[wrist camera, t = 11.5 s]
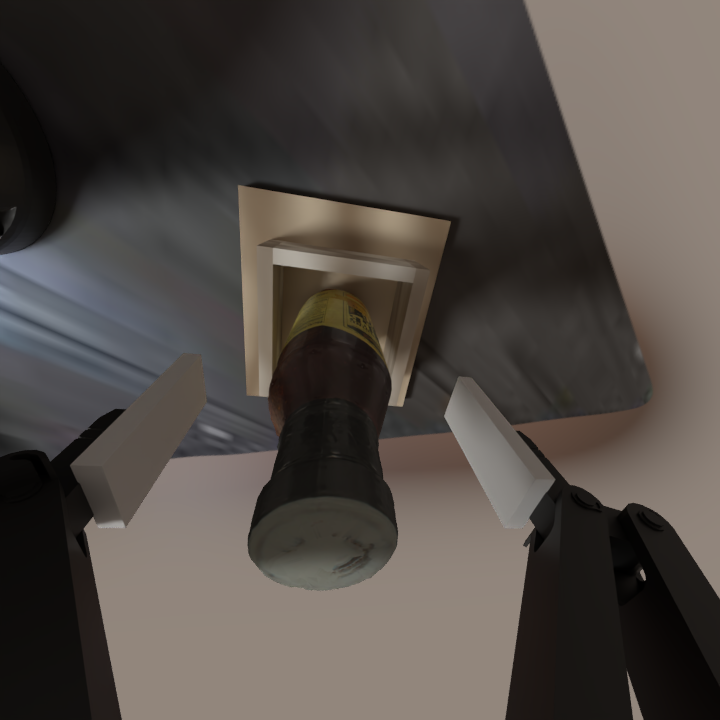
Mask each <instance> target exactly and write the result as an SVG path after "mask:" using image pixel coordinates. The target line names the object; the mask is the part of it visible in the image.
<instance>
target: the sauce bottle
mask: <svg viewBox="0 0 720 720" xmlns="http://www.w3.org/2000/svg"><path fill="white" fill-rule="evenodd" d="M391 392H392V381H391V377H390V373H389V370H388V367H387V364H386V361H385V358H384V355H383V352H382V349H381V346H380V343H379V340H378V338H377V335H376V332H375V329H374V326H373V323H372V320H371V317H370V314H369V312H368V310H367V308H366V306H365V305H364V304H363V302H362V301H361V300H359V299H358V298H357V297H356V296H355V295H354V294H352V293H348V292H346V291H343V290H337V289H325V290H322V291H321V292H319V293H316V294H315V295H313V296H311V297H310V298H309V299H308V300H307V301H306V302H305V303H304V305H303V306H302V308H301V310H300V312H299V314H298V316H297V318H296V320H295V323H294V325H293V327H292V329H291V332H290V334H289V336H288V338H287V341H286V343H285V345H284V347H283V349H282V351H281V354H280V356H279V359H278V362H277V367H276V369H275V371H274V373H273V376H272V379H271V383H270V387H269V396H268V401H269V411H270V415H271V420H272V422H273V424H274V427H275V430H276V434H277V436H279V443H278V447H277V448H278V454H277V457H276V460H275V464H274V468H273V472H272V476H271V480H270V481H269V482H268V483H267V484H266V485H265V486H264V487H263V489H262V491H261V493H260V495H259V496H258V499H257V503H256V507H255V510H254V514H253V518H252V522H251V527H250V532H249V535H248V552H249V556H250V558H251V560H252V561H253V562H254V563H255V564H256V566H257V567H258V568H259V569H260V570H261V571H262V572H263V574H264V575H265V576H266V577H268V578H270V579H272V580H273V581H275V582H277V583H280V584H283V585H286V586H289V587H299V588H304V589H307V590H331V589H338V588H343V587H348V586H351V585H354V584H357V583H360V582H362V581H364V580H365V579H368V578H371V577H372V576H373V575H374V574H376V573H377V572H378V571H379V570H381V569H382V568H383V567H384V565H385V564H386V563H387V562H388V561H389V559H390V558H391V556H392V554H393V552H394V551H395V549H396V546H397V539H398V530H397V529H398V528H397V523H396V518H395V510H394V501H393V497H392V493H391V491H390V488H389V486H388V485H387V484H386V482H385V481H384V480H383V473H382V467H381V462H380V457H379V452H378V446H379V443H378V438H379V435H380V432H381V428H382V425H383V421H384V418H385V414H386V411H387V407H388V404H389V400H390V397H391Z"/></svg>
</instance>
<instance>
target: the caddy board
mask: <svg viewBox="0 0 720 720" xmlns="http://www.w3.org/2000/svg"><path fill="white" fill-rule="evenodd" d="M238 193H239V217H240V241H241V265H242V289H243V313H244V337H245V361H246V385H247V395H251V396H264V397H268V396H269V387H270V383H271V379H272V376H273V373H274V371H275V369H276V367H277V362H278V359H279V356H280V354H281V351H282V349H283V347H284V345H285V343H286V341H287V338H288V336H289V334H290V332H291V329H292V327H293V325H294V323H295V320H296V318H297V316H298V314H299V312H300V310H301V308H302V306H303V305H304V303H305V302H306V301H307V300H308V299H309V298H310V297H311V296H313V295H315V294H316V293H319V292H321V291H322V290H325V289H337V290H343V291H346V292H348V293H352V294H354V295H355V296H356V297H357V298H358V299H359V300H361V301H362V302H363V304H364V305H365V306H366V308H367V310H368V312H369V314H370V317H371V320H372V323H373V326H374V329H375V332H376V335H377V338H378V340H379V343H380V346H381V349H382V352H383V355H384V358H385V361H386V364H387V367H388V370H389V373H390V377H391V381H392V392H391V397H390V400H389V404H388V405H389V406H403V403H404V399H405V395H406V391H407V387H408V384H409V380H410V376H411V372H412V368H413V365H414V361H415V357H416V353H417V349H418V346H419V342H420V338H421V334H422V330H423V327H424V323H425V319H426V315H427V311H428V308H429V304H430V300H431V296H432V292H433V288H434V285H435V281H436V277H437V273H438V269H439V266H440V262H441V258H442V254H443V250H444V247H445V243H446V239H447V235H448V231H449V228H450V224H451V221H447V220H441V219H435V218H429V217H423V216H417V215H411V214H405V213H399V212H394V211H388V210H382V209H376V208H370V207H364V206H358V205H352V204H346V203H340V202H334V201H329V200H323V199H317V198H311V197H305V196H299V195H293V194H287V193H281V192H275V191H269V190H264V189H258V188H252V187H246V186H240V185H238Z"/></svg>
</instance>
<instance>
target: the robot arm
mask: <svg viewBox="0 0 720 720" xmlns="http://www.w3.org/2000/svg"><path fill="white" fill-rule="evenodd" d="M55 200H56V178H55V171H54V165H53V161H52V157H51V153H50V150H49V147H48V144H47V141H46V139H45V136H44V133H43V131H42V129H41V127H40V124H39V122H38V120H37V118H36V116H35V114H34V112H33V111H32V109H31V107H30V105H29V104H28V102H27V100H26V98H25V97H24V95H23V94H22V92H21V91H20V89H19V88H18V86H17V85H16V83H15V82H14V80H13V79H12V78H11V76H10V75H9V74H8V72H7V71H6V70H5V68H4V67H3V66H2V64H1V63H0V255H3V254H8V253H12V252H15V251H18V250H20V249H23V248H25V247H27V246H28V245H30V244H31V243H33V242H34V241H35V240H36V239H37V238H39V237H40V235H41V234H42V233H43V232H44V231H45V229H46V227H47V226H48V224H49V222H50V220H51V217H52V214H53V211H54V207H55ZM206 402H207V399H206V391H205V383H204V375H203V367H202V359H201V355H199V354H187V353H183V354H182V355H181V356H180V357H179V358H178V359H177V360H176V361H175V362H174V363H173V364H172V365H171V366H170V367H169V368H168V369H167V370H166V371H165V372H164V373H163V374H162V375H161V376H160V377H159V378H158V379H157V380H156V381H155V382H154V383H153V384H152V385H151V386H150V387H149V388H148V389H147V390H146V391H145V392H144V393H143V394H142V395H141V396H140V397H139V398H138V399H137V400H136V401H135V402H134V403H133V404H132V405H131V406H130V407H129V408H128V409H114V410H113V411H111V412H109V413H107V414H105V415H103V416H101V417H100V418H98V419H97V420H96V421H95V422H94V423H93V424H92V425H91V426H90V427H88V430H85V431H84V432H83V433H82V434H81V435H80V436H79V437H78V439H75V440H74V441H73V442H72V443H71V444H70V445H69V446H67V447H66V448H65V449H64V450H63V451H62V452H61V453H60V454H59V455H58V456H56V457H55V458H54V459H53V460H52V461H51V462H50V461H49V459H48V457H47V455H46V454H45V452H42V451H38V450H24V451H19V452H15V453H10V454H8V455H5V456H2V457H0V720H122V718H121V714H120V708H119V703H118V698H117V692H116V687H115V682H114V677H113V672H112V666H111V661H110V656H109V651H108V646H107V640H106V635H105V630H104V625H103V619H102V614H101V609H100V604H99V599H98V593H97V588H96V584H95V578H94V573H93V567H92V562H91V557H90V552H89V547H88V541H87V536H86V533H85V531H84V527H85V526H86V525H87V523H88V522H89V521H90V520H91V518H92V517H94V519H95V522H96V524H97V526H98V528H126V526H127V525H128V523H129V522H130V520H131V519H132V517H133V516H134V514H135V512H136V511H137V509H138V508H139V506H140V505H141V503H142V502H143V500H144V498H145V497H146V495H147V494H148V492H149V491H150V489H151V488H152V486H153V484H154V483H155V481H156V480H157V478H158V477H159V475H160V474H161V472H162V470H163V469H164V467H165V466H166V464H167V463H168V461H169V460H170V458H171V457H172V455H173V453H174V452H175V450H176V449H177V447H178V446H179V444H180V443H181V441H182V439H183V438H184V436H185V435H186V433H187V432H188V430H189V429H190V427H191V425H192V424H193V422H194V421H195V419H196V418H197V416H198V415H199V413H200V411H201V410H202V408H203V407H204V405H205V404H206ZM444 417H445V419H446V421H447V422H448V424H449V426H450V428H451V430H452V432H453V433H454V435H455V437H456V439H457V441H458V443H459V445H460V447H461V448H462V450H463V452H464V454H465V456H466V458H467V459H468V461H469V463H470V465H471V467H472V469H473V471H474V472H475V474H476V476H477V478H478V480H479V482H480V483H481V485H482V487H483V489H484V491H485V493H486V494H487V496H488V498H489V500H490V502H491V504H492V506H493V508H494V510H495V511H496V513H497V515H498V517H499V519H500V521H501V522H502V524H503V526H504V528H523V527H524V526H525V524H526V523H527V521H528V520H529V518H530V520H531V521H532V523H533V524H534V526H535V528H534V530H533V531H532V533H531V534H530V535H529V537H528V538H527V539H526V541H525V543H524V545H523V546H525V547H527V546H528V544H529V543H530V547H529V554H528V562H527V569H526V576H525V583H524V591H523V597H522V604H521V611H520V619H519V626H518V633H517V640H516V647H515V654H514V662H513V669H512V676H511V683H510V690H509V697H508V704H507V711H506V718H505V720H633V715H632V708H631V700H630V692H629V685H628V677H627V671H628V674H629V677H630V680H631V683H632V686H633V689H634V692H635V695H636V698H637V701H638V704H639V707H640V710H641V713H642V716H643V719H644V720H720V599H719V597H718V596H717V594H716V593H715V591H714V590H713V588H712V586H711V585H710V584H709V582H708V580H707V579H706V577H705V576H704V575H703V573H702V571H701V570H700V568H699V567H698V565H697V563H696V562H695V560H694V559H693V557H692V556H691V554H690V553H689V551H688V550H687V548H686V547H685V545H684V544H683V542H682V540H681V539H680V537H679V536H678V535H677V533H676V531H675V530H674V528H673V527H672V526H671V525H670V524H669V522H667V521H666V520H665V519H664V518H663V517H662V516H661V515H659V514H658V513H656V512H654V511H653V510H651V509H649V508H647V507H645V506H643V505H640V504H636V503H631V504H628V505H627V506H626V507H625V508H624V509H623V510H622V511H619V510H616V509H612V508H609V507H606V506H603V505H602V504H601V503H600V501H599V500H598V499H597V498H596V497H594V496H593V495H592V494H591V493H589V492H587V491H586V490H584V489H582V488H580V487H577V486H573V485H569V484H568V483H567V481H566V480H565V479H564V478H563V477H562V475H561V474H560V473H559V472H558V471H557V470H556V468H555V467H554V466H553V465H552V464H551V463H550V461H549V460H548V459H547V458H545V456H544V454H543V453H542V452H541V451H540V450H538V447H537V446H536V445H535V444H534V443H533V442H532V441H531V439H529V438H528V437H527V436H525V435H524V434H523V433H522V432H520V431H515V430H514V429H513V427H512V426H511V425H510V424H509V422H508V421H507V420H506V419H505V418H504V416H503V415H502V414H501V413H500V412H499V410H498V409H497V408H496V407H495V405H494V404H493V403H492V402H491V401H490V399H489V398H488V397H487V396H486V394H485V393H484V392H483V391H482V390H481V388H480V387H479V386H478V385H477V384H476V382H475V381H474V380H473V379H472V378H471V377H458V379H457V382H456V385H455V388H454V390H453V393H452V396H451V399H450V402H449V404H448V407H447V410H446V413H445V416H444ZM642 569H643V570H644V573H645V576H646V580H645V581H644V580H643V578H642V576H641V574H640V571H641V570H642ZM626 668H627V669H626Z"/></svg>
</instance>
